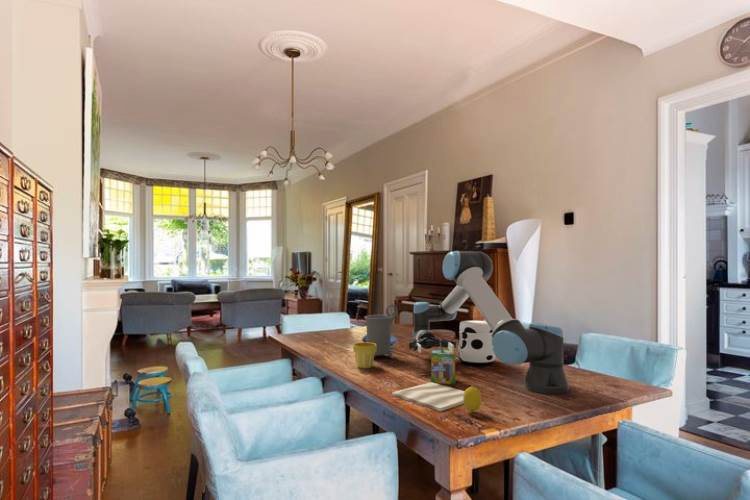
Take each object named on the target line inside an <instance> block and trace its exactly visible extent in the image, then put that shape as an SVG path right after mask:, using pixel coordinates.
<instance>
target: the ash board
mask: <svg viewBox="0 0 750 500" xmlns="http://www.w3.org/2000/svg"><path fill="white" fill-rule="evenodd" d="M464 392H465V390H461V389H459V388H458V389H457V388H454V387H450V386H447V385H444V384H436V383H432V382H431V381H429V382H426V383H423V384H422V383H421V384H419V385H416V386H415V385H414V386H411V387H407V388H403V389H400V390H396V391H392V392H391V395H392V396H393V397H396V398H398V399H402V400H405V401H407V402H411V403H414V404H417V405H420V406H423V407H426V408H430V409H432V410H435V411H438V412H443V411H445V410H446V411H447V410H448V409H452V408H454V407H458V406H461V405H464V401H463V396H464Z"/></svg>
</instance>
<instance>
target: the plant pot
mask: <svg viewBox="0 0 750 500" xmlns="http://www.w3.org/2000/svg"><path fill="white" fill-rule="evenodd" d="M352 350H353V353H354V356H355V362H356V366H357V368H360V369H371V368H372V367H373V365H374V364H373V363H374V359H375V356H376V355H375V353H376V350H377V345H376V344H375V343H369V342H367V341H366V342H365V341H364V342H355V343H353V345H352Z"/></svg>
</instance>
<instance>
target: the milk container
mask: <svg viewBox="0 0 750 500" xmlns="http://www.w3.org/2000/svg"><path fill="white" fill-rule="evenodd" d="M492 333H493V331H492V329H491V328H490V326H489V325H488V323H487V322H486V320H462V321H460V322H459V331H458V334H459V341H458V347H457V357H458V359H459V361H461V362H463V363H466V364H471V365H488V364H493V363H494V362H495V361H496V359H497V357H496V355H495V354H494V352H493V349H492V348H493V346H492V339H493V338H492Z"/></svg>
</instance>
